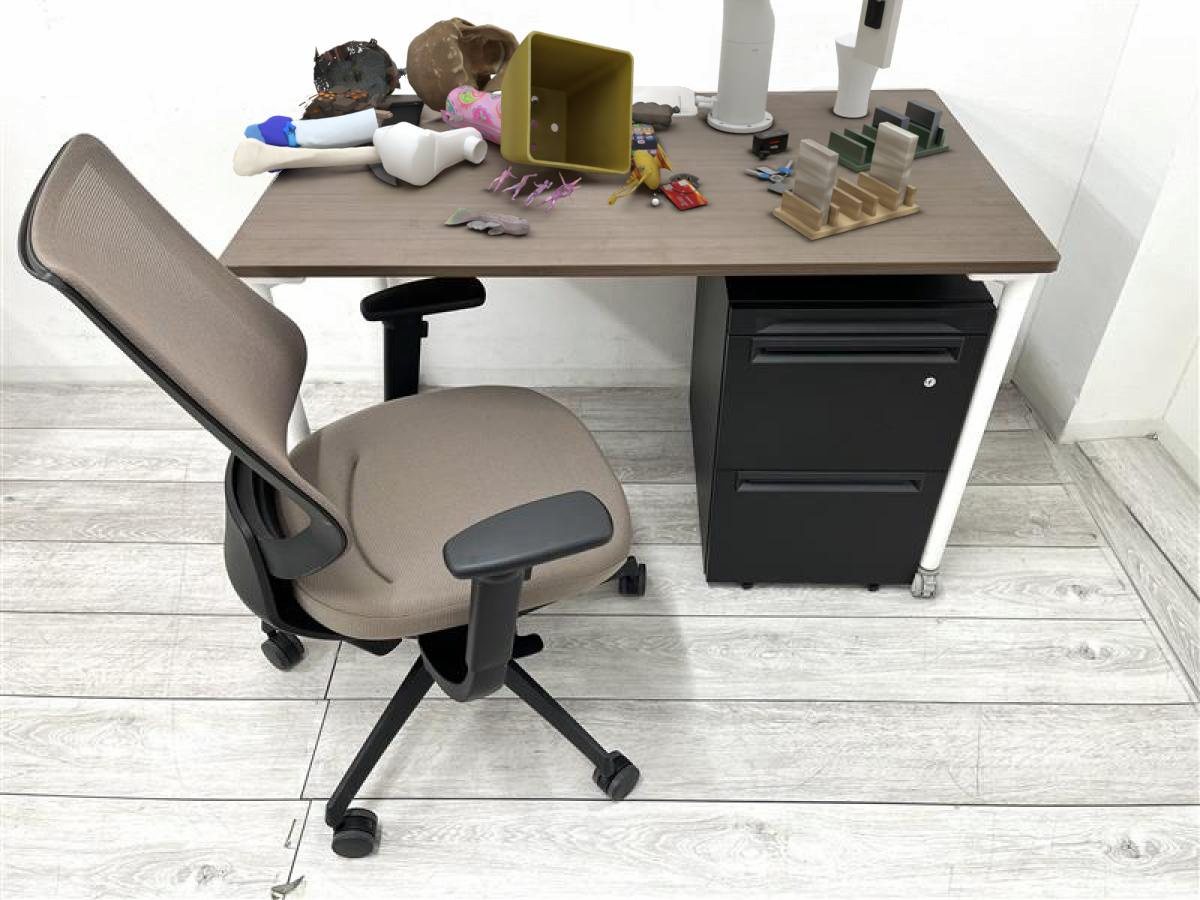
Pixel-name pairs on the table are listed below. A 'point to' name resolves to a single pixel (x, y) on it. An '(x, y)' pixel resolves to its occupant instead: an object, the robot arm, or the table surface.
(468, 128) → the white plastic bottle
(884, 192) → the beige rack
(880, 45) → the white book
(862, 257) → the table surface
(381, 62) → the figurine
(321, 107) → the video game creature
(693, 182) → the corroded twin loop
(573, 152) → the flower pot
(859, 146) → the green rack
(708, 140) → the table surface
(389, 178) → the knife
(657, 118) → the rhino figurine
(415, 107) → the smartphone
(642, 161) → the magic lamp
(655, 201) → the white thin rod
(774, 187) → the key chain
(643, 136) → the smartphone
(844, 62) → the cup
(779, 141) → the wireless earbuds
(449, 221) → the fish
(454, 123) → the pencil case
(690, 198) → the card
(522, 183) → the people figure
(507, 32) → the skull
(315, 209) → the table surface
